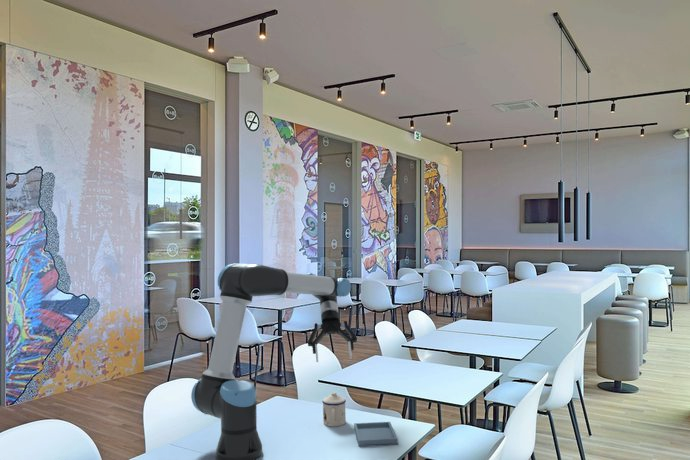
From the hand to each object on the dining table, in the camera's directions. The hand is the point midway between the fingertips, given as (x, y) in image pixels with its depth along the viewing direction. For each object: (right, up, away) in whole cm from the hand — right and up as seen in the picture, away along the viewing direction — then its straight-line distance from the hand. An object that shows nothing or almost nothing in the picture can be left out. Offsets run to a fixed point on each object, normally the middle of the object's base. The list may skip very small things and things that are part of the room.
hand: (334, 359), depth 207 cm
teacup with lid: (0, -23, -8) cm, 25 cm away
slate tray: (+15, -23, -21) cm, 34 cm away
